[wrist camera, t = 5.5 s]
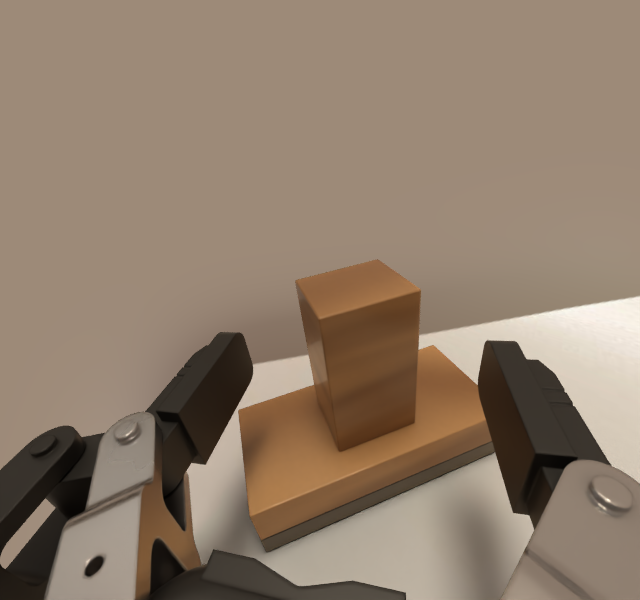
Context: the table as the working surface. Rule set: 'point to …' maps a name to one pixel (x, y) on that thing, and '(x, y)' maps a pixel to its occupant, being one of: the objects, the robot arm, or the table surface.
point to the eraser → (357, 409)
